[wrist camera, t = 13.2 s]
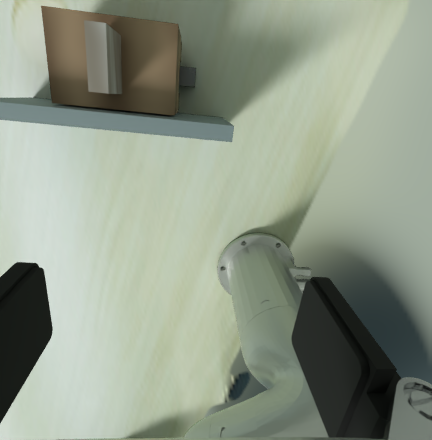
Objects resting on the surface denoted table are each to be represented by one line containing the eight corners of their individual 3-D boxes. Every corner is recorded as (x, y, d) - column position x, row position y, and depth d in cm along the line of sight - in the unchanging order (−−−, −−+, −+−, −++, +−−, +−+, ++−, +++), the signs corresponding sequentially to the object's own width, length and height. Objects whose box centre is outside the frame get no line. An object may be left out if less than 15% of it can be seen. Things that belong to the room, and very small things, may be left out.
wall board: (222, 117, 39) (233, 126, 28) (221, 129, 39) (232, 142, 28) (32, 97, 36) (-38, 98, 25) (34, 110, 37) (-34, 116, 26)
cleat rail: (195, 69, 36) (195, 68, 34) (194, 87, 37) (194, 86, 35) (62, 53, 35) (53, 50, 33) (63, 72, 35) (55, 70, 33)
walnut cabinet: (181, 41, 35) (174, 9, 22) (178, 111, 38) (170, 118, 25) (78, 27, 34) (7, -14, 21) (83, 101, 37) (24, 104, 24)
